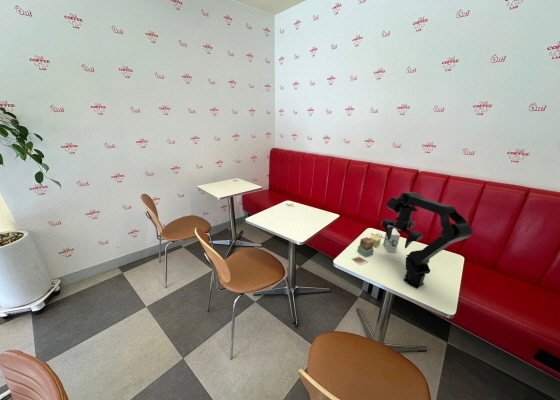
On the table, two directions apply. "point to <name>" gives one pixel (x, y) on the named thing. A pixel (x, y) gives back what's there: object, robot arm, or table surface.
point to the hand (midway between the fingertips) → (397, 243)
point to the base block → (365, 252)
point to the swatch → (359, 260)
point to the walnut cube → (366, 243)
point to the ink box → (392, 241)
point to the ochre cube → (375, 240)
